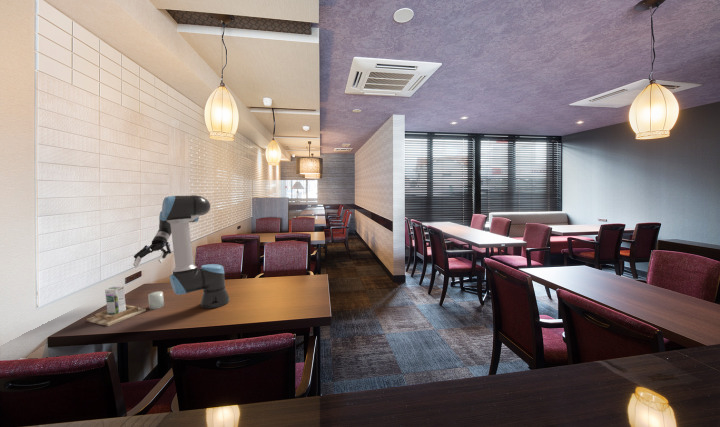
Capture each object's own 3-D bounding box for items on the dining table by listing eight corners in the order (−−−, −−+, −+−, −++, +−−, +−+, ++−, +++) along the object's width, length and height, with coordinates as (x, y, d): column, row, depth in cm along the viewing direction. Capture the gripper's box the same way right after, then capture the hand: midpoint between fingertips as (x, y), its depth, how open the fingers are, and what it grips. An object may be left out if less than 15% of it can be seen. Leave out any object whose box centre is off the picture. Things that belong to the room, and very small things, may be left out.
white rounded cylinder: (166, 305, 166) (165, 292, 165) (154, 310, 160) (153, 296, 159) (158, 303, 169) (157, 290, 168) (146, 308, 162) (145, 295, 161)
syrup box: (107, 316, 150) (104, 289, 149) (116, 311, 156) (113, 285, 155) (117, 315, 150) (114, 289, 149) (126, 310, 156) (124, 285, 155)
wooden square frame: (146, 311, 159) (145, 305, 158) (108, 326, 142) (107, 320, 141) (125, 307, 165) (124, 301, 164) (87, 321, 148) (86, 315, 148)
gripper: (183, 240, 185) (173, 264, 168) (142, 247, 182) (127, 272, 165) (178, 232, 180) (167, 255, 164) (136, 239, 177) (120, 263, 160)
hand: (147, 263), depth 164 cm, fingers open, 13 cm apart
